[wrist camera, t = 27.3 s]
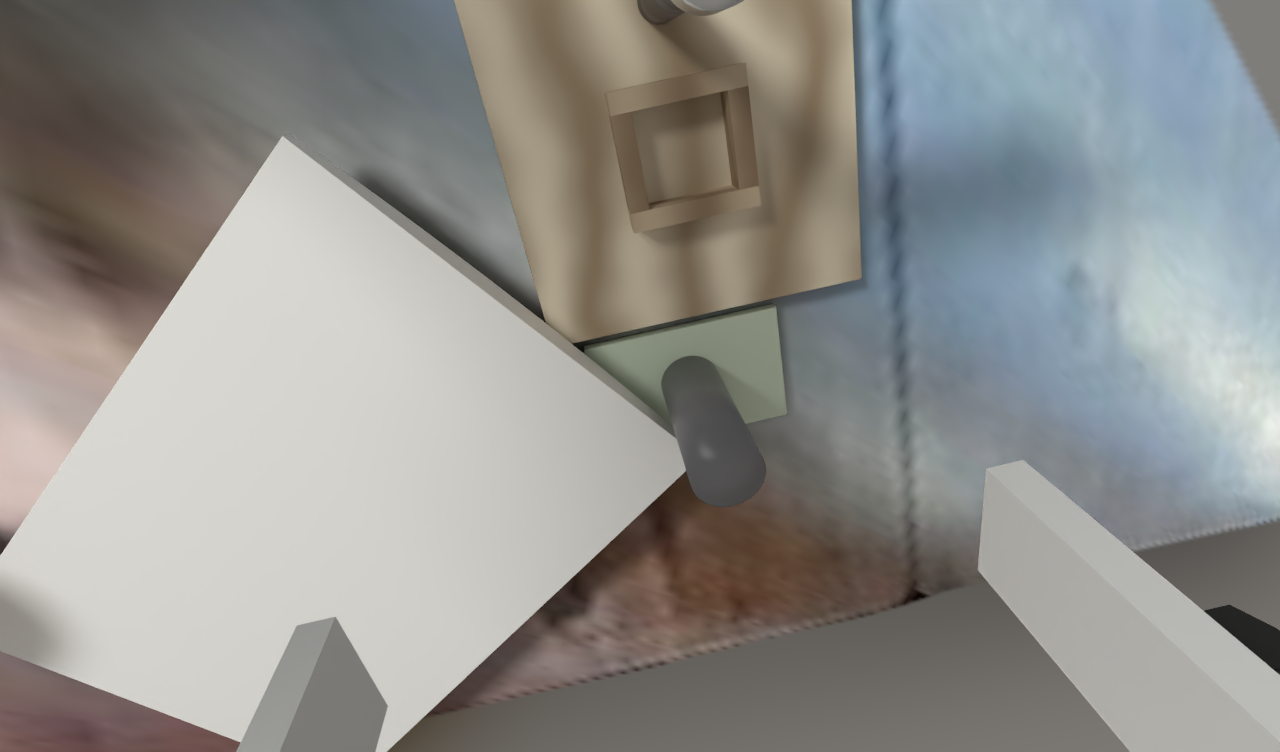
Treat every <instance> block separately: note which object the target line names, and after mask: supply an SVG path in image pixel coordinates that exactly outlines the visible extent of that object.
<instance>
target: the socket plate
mask: <svg viewBox="0 0 1280 752" xmlns="http://www.w3.org/2000/svg"><path fill="white" fill-rule="evenodd" d="M454 2H455V6H456V9H457V13H458V16H459V20H460V23H461V27H462V30H463V34H464V37H465V41H466V44H467V48H468V52H469V55H470V59H471V62H472V66H473V69H474V73H475V76H476V80H477V83H478V87H479V90H480V94H481V97H482V101H483V104H484V108H485V111H486V115H487V118H488V122H489V125H490V129H491V132H492V136H493V139H494V143H495V146H496V150H497V153H498V157H499V160H500V164H501V167H502V171H503V174H504V178H505V181H506V185H507V188H508V192H509V195H510V199H511V202H512V206H513V209H514V213H515V216H516V220H517V224H518V227H519V231H520V234H521V238H522V241H523V245H524V248H525V252H526V255H527V259H528V262H529V266H530V269H531V273H532V276H533V280H534V283H535V287H536V290H537V294H538V297H539V301H540V304H541V308H542V311H543V315H544V318H545V322H546V324H547V325H549V326H550V327H551V328H552V329H554V330H555V331H556V332H558V333H559V334H560V335H561V336H563V337H564V338H565V339H566V340H568V341H569V342H570V343H571V344H572V343H577V342H581V341H586V340H590V339H595V338H599V337H603V336H608V335H612V334H617V333H621V332H626V331H630V330H635V329H639V328H644V327H648V326H653V325H657V324H662V323H666V322H670V321H675V320H679V319H684V318H688V317H693V316H697V315H702V314H706V313H711V312H715V311H720V310H724V309H728V308H733V307H737V306H742V305H746V304H751V303H755V302H760V301H764V300H769V299H773V298H778V297H782V296H786V295H791V294H795V293H800V292H804V291H809V290H813V289H818V288H822V287H827V286H831V285H836V284H840V283H845V282H849V281H853V280H858V279H862V273H861V245H860V218H859V190H858V163H857V135H856V108H855V80H854V53H853V25H852V0H744V1H742V2H741V3H739V4H737V5H735V6H733V7H730V8H728V9H726V10H724V11H721V12H719V13H717V14H713V15H708V16H697V15H692V14H689V13H687V12H685V11H683V10H681V9H680V8H678V7H677V6H676V5H675V4H674V3H673V2H672V1H671V0H454Z"/></svg>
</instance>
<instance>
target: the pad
mask: <svg viewBox="0 0 1280 752" xmlns="http://www.w3.org/2000/svg"><path fill="white" fill-rule="evenodd" d="M584 352H585V355H586V356H588V357H589V358H590V359H591V360H592V361H594V362H595V363H596V364H597V365H599V366H600V367H601V368H602V369H604V370H605V371H606V372H607V373H608V374H610V375H611V376H612V377H613V378H615V379H616V380H617V381H618V382H619V383H621V384H622V385H623V386H624V387H625V388H627V389H628V390H629V391H630V392H632V393H633V394H634V395H635V396H636V397H638V398H639V399H640V400H641V401H642V402H644V403H645V404H646V405H647V406H648V407H650V408H651V409H652V410H653V411H654V412H655V413H657V414H658V415H659V416H660V417H661V418H663V419H664V420H665V421H666V422H667V423H669V424H670V425H671V426H672V427H673V425H672V422H671V419H670V415H669V412H668V409H667V406H666V402H665V399H664V396H663V392H662V388H661V381H662V377H663V374H664V372H665V370H666V369H667V368H668V366H669V365H670V364H672V363H673V362H674V361H676V360H678V359H680V358H682V357H686V356H700V357H703V358H706V359H708V360H709V361H711V362H712V363H713V364H714V365H715V367H716V368H717V370H718V372H719V374H720V376H721V378H722V380H723V382H724V384H725V386H726V388H727V389H728V391H729V393H730V395H731V397H732V399H733V401H734V403H735V405H736V407H737V409H738V411H739V413H740V415H741V417H742V419H743V420H744V422H745V424H748V423H752V422H757V421H761V420H765V419H770V418H774V417H779V416H783V415H787V408H786V398H785V389H784V379H783V369H782V360H781V350H780V340H779V331H778V321H777V311H776V307H775V306H774V305H773V304H770V305H765V306H761V307H756V308H752V309H747V310H743V311H738V312H734V313H729V314H725V315H720V316H716V317H712V318H707V319H703V320H698V321H694V322H689V323H685V324H680V325H676V326H671V327H667V328H662V329H658V330H653V331H649V332H645V333H640V334H636V335H631V336H627V337H622V338H618V339H613V340H609V341H604V342H600V343H595V344H591V345H587V346H584Z"/></svg>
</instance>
